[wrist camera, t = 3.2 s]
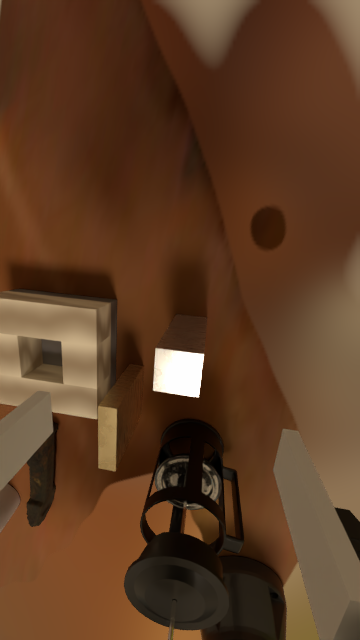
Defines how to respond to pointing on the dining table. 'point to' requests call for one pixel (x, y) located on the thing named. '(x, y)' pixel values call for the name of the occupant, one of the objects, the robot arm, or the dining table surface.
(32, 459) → the hand tool
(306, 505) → the robot arm
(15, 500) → the coffee cup
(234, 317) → the dining table surface
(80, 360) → the bore block
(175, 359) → the square bit
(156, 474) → the french press
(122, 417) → the beige rectangular slab
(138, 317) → the dining table surface
